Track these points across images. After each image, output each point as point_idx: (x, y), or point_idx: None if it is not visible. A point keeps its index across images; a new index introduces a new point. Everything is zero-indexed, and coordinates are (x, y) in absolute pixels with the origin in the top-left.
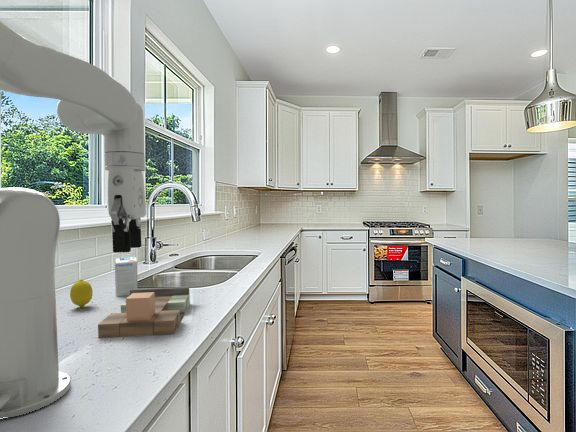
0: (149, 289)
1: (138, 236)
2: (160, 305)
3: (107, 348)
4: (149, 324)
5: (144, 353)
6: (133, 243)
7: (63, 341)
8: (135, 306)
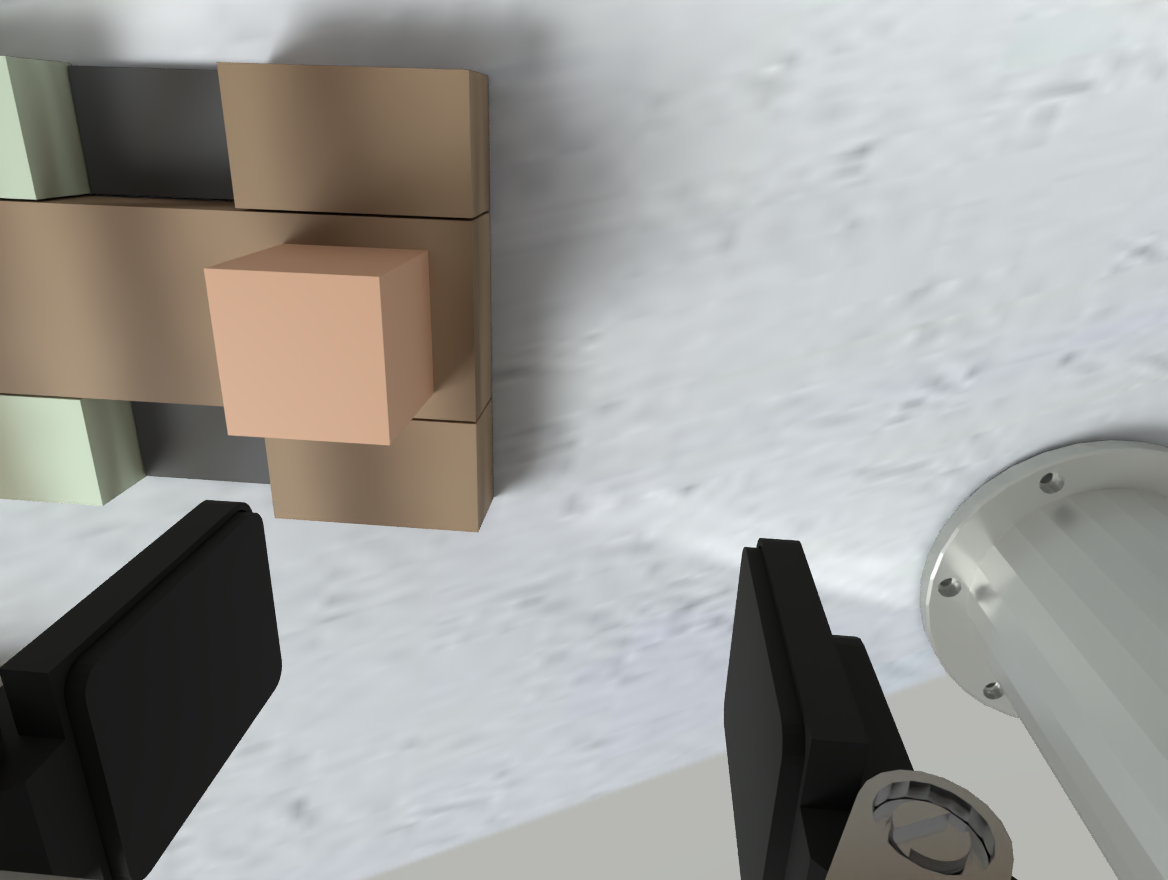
0: None
1: (172, 611)
2: (103, 239)
3: (648, 415)
4: (476, 241)
5: (770, 203)
6: (241, 617)
7: (509, 635)
8: (403, 363)
